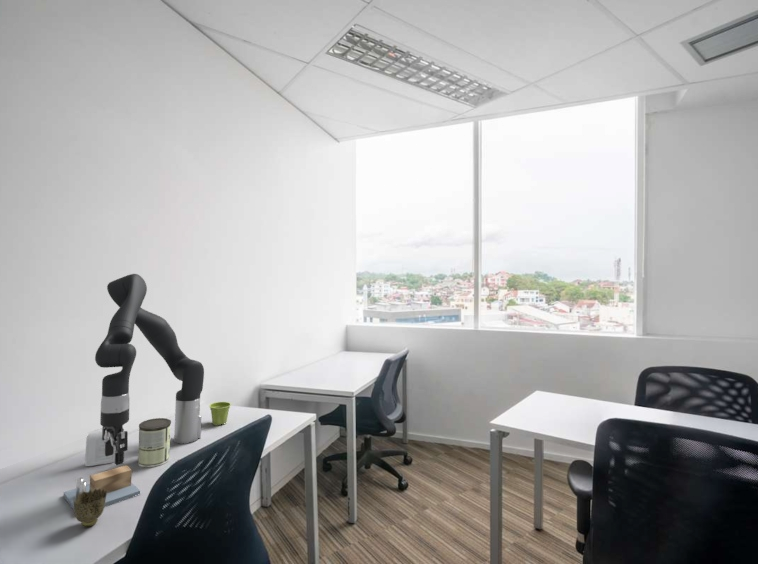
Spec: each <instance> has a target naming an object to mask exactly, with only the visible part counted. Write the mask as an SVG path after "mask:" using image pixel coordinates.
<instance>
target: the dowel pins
mask: <svg viewBox="0 0 758 564" xmlns="http://www.w3.org/2000/svg"><path fill="white" fill-rule="evenodd" d="M75 481H76V483H75V484H76V485H75V486H76V487H75V488H76V498H77V495H78V494H81V493H82V492H83V491H84V492H86V485H87V481H84V478H83V477H78V478H77V479H76V480H75Z"/></svg>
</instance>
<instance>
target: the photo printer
mask: <svg viewBox="0 0 758 564" xmlns="http://www.w3.org/2000/svg"><path fill="white" fill-rule="evenodd" d="M102 428H103V427H102ZM102 428H97V429H94V430H91V431H89V432H87V433H88V435H86V440H85V454H84V455H85V459H84V466H85V467H93V466H99V465H106V464H110V463H115V450H114V453H113V455H110V456H105V444H104V440H102Z"/></svg>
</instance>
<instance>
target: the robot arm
mask: <svg viewBox="0 0 758 564" xmlns="http://www.w3.org/2000/svg"><path fill="white" fill-rule="evenodd" d="M147 288H148V287H147V283H146V281H145V279H144V278H143V277H142V276H141V275H139V274H137V273H129V274H127V275H125V276H122V277H120V278H117V279H114V280H112V281H110V282H108V283H107V286H106V289H107V292H108V295H109V297H110V298H111V300H112V301H113V302H114V303H115V304H116V305H117V306H118V309H117V310H116V311H115V313H114V315H113V316H112V318H111V320H110V322H109V326H108V330H107V335H106V336H105V338H104V339H103V341H102V342H101V344H100V345H99V346H98V348H97V349H96V352H95V357H94V360H95V363H96V365H97V366H98V367H99V368H102V369H103V368H104V369H105V368H121V370H120V371H118V372H115V373H111V374H107V375H105V376H104V377H102V380H101V400H100V419H99V420H100V421H99V422H100V423H99V424H100V426H102V440H104V444H105V456H110V455H113V453H114V450H115V462H114V464H115V465H116V466H119V465H122V464H124V461H125V460H124V459H125V452H128V448H129V447H128V430H125V429H124V427H123V426H124V425H125V424H127V423H128V422H129V420H130V394H129V393H130V391H129V387H130V378H131V377H130V376H131V372H132V368H133V365H134V363H135V360H136V357H137V349H136V347H135V345H133V344H131V341H132V340H133V338H134V337H133V336H134V330H135V326H136V328H138V330H139V331H140V332H141V333H142V334H143V337H145V338H146V341H148V342H149V344H150V345H151V346H152V347H153V348H154V350H156V352H157V353H158V354H159V356H161V357H162V359H163V360H164V362H165V363H166V365H167V367H169V370H170V371H171V373H172V375H173V376H174V377H175V379H177V380H179V381H182V383H181V389H179V390H178V391H176V393H175V406H174V407H175V408H174V409H175V410H174V411H175V413H174V431H173V432H174V433H173V441H174V443H176V444H179V445H180V444H183V443H184V444H190V443H189V442H191V443H194V442H196V441H197V440H199V439H198V438H200V439H202V438H201V437H202V415H201V413H200V411H201V394H202V393H203V392H202V391H203V390H204V389H203V388H204V379H205V369H204V365H203V364H202V362H200V361H198V360H194V359H191V358H189V357H188V356H187V355H186V354H185V353H184V352H183V350H181V348H180V346H179V343H178V339H177V336H176V333H175V331H174V329H173V327H171V325H170V324H169V322H168V321H167V320H166V319H165V318H163V317H162V316H159V315H157V314H155V313H153V312H150V311H149V310H146V309H144V308H143V307H142V305H143V303H144V300H145V298H146V295H147V292H148V289H147ZM195 440H196V441H195ZM193 441H194V442H193Z"/></svg>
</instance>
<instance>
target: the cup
mask: <svg viewBox="0 0 758 564" xmlns="http://www.w3.org/2000/svg"><path fill="white" fill-rule="evenodd" d="M106 495H107V491H105V492H104V489H103V490H102V492H101V489H98V490H97V489H95V490H94V491H93V493H92V491H91V490H89V492H84V491H83V492H82V493H81V494H78V495H77V499H74V500H73V501H74V510H73V512H74V515H75V518H76V520H77V521H78V522H80V526H82V528H90V527H92V526H95V525H97V522H98V518H99V517H101V515H102V514H103V513H104V509H105V507H104V506H105V501H106Z"/></svg>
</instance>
